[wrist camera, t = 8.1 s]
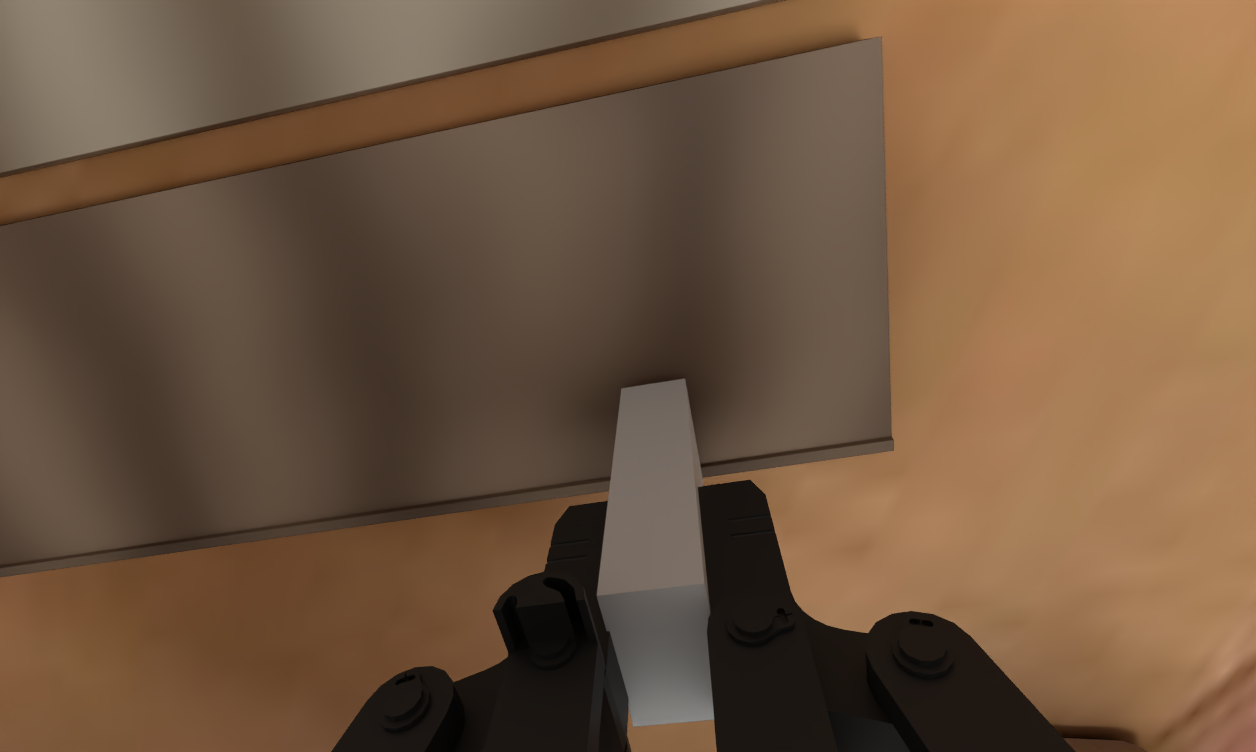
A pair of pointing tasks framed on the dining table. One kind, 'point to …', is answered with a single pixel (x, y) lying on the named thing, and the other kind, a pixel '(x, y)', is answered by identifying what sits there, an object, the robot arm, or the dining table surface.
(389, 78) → the laid board
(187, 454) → the plank
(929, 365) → the dining table surface
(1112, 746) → the wooden block
